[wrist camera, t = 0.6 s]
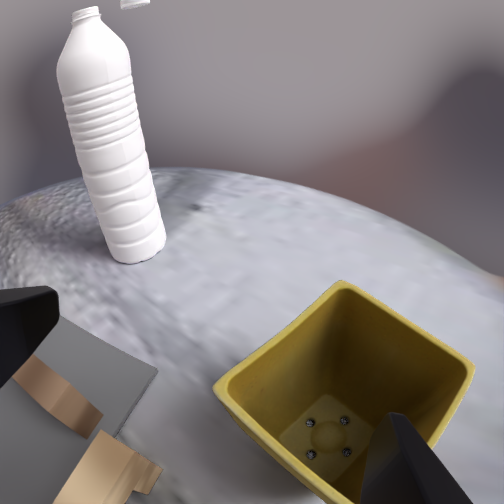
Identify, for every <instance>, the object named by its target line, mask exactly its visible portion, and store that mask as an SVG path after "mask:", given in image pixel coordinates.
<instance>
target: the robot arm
mask: <svg viewBox="0 0 504 504" xmlns="http://www.w3.org/2000/svg"><path fill="white" fill-rule="evenodd" d="M59 318H60V312H59V297H58V293H57V292H56V291H55V290H54V289H52V288H50V287H48V286H35V287H24V288H13V289H2V290H0V389H1V388H2V387H3V386H4V385H5V383H6V382H7V381H8V380H9V379H10V378H11V377H12V376H13V375H14V374H15V373H16V372H17V371H18V370H19V369H20V367H21V366H22V365H23V364H24V363H25V362H26V361H27V360H28V359H29V358H30V357H31V355H32V354H33V353H34V352H35V350H36V349H37V348H38V347H39V345H40V344H41V343H42V342H43V340H44V339H45V338H46V337H47V336H48V334H49V333H50V332H51V331H52V329H53V328H54V327H55V326H56V325H57V323H58V321H59ZM360 504H473V503H472V502H471V500H470V499H469V498H468V496H467V495H466V494H465V492H464V491H463V490H462V488H461V487H460V486H459V484H458V483H457V482H456V481H455V479H454V478H453V477H452V475H451V474H450V473H449V471H448V470H447V469H446V467H445V466H444V465H443V464H442V462H441V461H440V460H439V458H438V457H437V456H436V455H435V453H434V452H433V451H432V449H431V448H430V447H429V445H428V444H427V443H426V442H425V440H424V439H423V438H422V437H421V435H420V434H419V433H418V431H417V430H416V429H415V428H414V426H413V425H412V424H411V422H410V421H409V420H408V419H407V417H406V416H405V415H403V414H399V413H394V412H389V413H387V414H386V415H385V417H384V418H383V419H382V421H381V422H380V424H379V425H378V426H377V428H376V429H375V431H374V432H373V434H372V436H371V438H370V442H369V449H368V455H367V461H366V467H365V473H364V478H363V484H362V490H361V498H360Z"/></svg>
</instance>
